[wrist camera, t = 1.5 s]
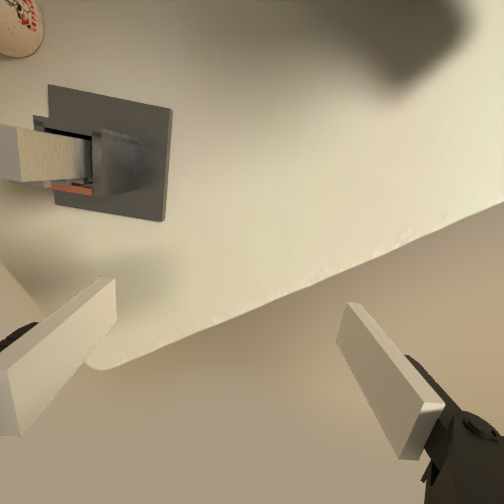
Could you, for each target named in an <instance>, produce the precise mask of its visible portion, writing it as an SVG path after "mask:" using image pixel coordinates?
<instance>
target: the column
mask: <svg viewBox="0 0 504 504" xmlns="http://www.w3.org/2000/svg"><path fill="white" fill-rule="evenodd" d="M0 178H2V179H8V180H10V182H12V183H18V184H24V185H30V186H35V187H41V188H50V187H51V183H53V184H58V185H64V186H69V185H72V182H74V183H80V184H88V181H91V182H93V165H92V141H91V140H85V139H80V138H74V137H68V136H63V135H57V134H52V133H46V132H41V131H35V130H29V129H24V128H18V127H13V126H7V125H1V124H0Z"/></svg>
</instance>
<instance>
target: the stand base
mask: <svg viewBox="0 0 504 504" xmlns="http://www.w3.org/2000/svg"><path fill="white" fill-rule="evenodd" d="M48 95H49V111H50V118H47V117H41V116H36V115H33V121H34V130H35V131H41V132H46V133H52V134H57V135H63V136H68V137H74V138H80V139H85V140H91V141H92V165H93V182H91V181H88V184H80V183H74V182H72V185H69V186H64V185H58V184H53V183H51V187H50V188H49V189H54V191H55V204H58V205H64V206H70V207H76V208H82V209H88V210H94V211H101V212H107V213H113V214H119V215H125V216H131V217H137V218H143V219H149V220H155V221H161V222H162V221H164V220H165V211H166V198H167V184H168V170H169V156H170V142H171V129H172V115H173V111H172V110H171V109H168V108H163V107H158V106H153V105H148V104H143V103H138V102H133V101H129V100H124V99H119V98H114V97H109V96H104V95H99V94H94V93H89V92H84V91H79V90H74V89H69V88H65V87H60V86H55V85H50V84H48Z"/></svg>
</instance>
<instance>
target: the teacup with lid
mask: <svg viewBox="0 0 504 504" xmlns="http://www.w3.org/2000/svg"><path fill="white" fill-rule="evenodd" d="M43 34H44V23H43V17H42V13H41V10H40V8H39V6H38V4H37V2H36V0H0V53H2V54H5V55H7V56H11V57H25V56H28V55H30V54H32V53H34V52H35V51H36V50H37V49H38V47H39V46H40V44H41V42H42V39H43Z"/></svg>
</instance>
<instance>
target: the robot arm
mask: <svg viewBox="0 0 504 504" xmlns="http://www.w3.org/2000/svg"><path fill="white" fill-rule="evenodd" d="M116 322H117V313H116V288H115V278H111V277H102V276H100V277H99V278H98V279H96V280H95V281H94V282H93V283H91V284H90V285H89V286H87V287H86V288H85V289H83V290H82V291H81V292H79V293H78V294H77V295H75V296H74V297H73V298H71V299H70V300H69V301H67V302H66V303H65V304H63V305H62V306H61V307H60V308H58V309H57V310H56V311H54V312H53V313H52V314H50V315H49V316H48V317H46V318H45V319H44V320H42V321H41V322H40V323H37V322H33V323H30V324H28V325H26V326H24V327H22V328H19V329H17V330H16V331H15V332H13V333H12V334H10V335H9V336H7V337H6V339H5V340H2V341H1V342H0V436H15V437H21V436H22V435H23V434H24V433H25V432H26V430H27V429H28V428H29V427H30V426H31V424H32V423H33V422H34V420H35V419H36V418H37V417H38V416H39V415H40V413H41V412H42V411H43V409H45V407H46V406H47V405H48V404H49V403H50V401H51V400H52V399H53V398H54V397H55V395H56V394H57V393H58V392H59V390H60V389H61V388H62V387H63V386H64V384H65V383H66V382H67V381H68V380H69V378H70V377H71V376H72V375H73V374H74V372H75V371H76V370H77V369H78V367H79V366H80V365H81V364H82V363H83V361H84V360H85V359H86V358H87V357H88V355H89V354H90V353H91V352H92V351H93V349H94V348H95V347H96V346H97V345H98V343H99V342H100V341H101V340H102V339H103V337H104V336H105V335H106V334H107V332H108V331H109V330H110V329H111V328H112V326H113V325H114V324H115V323H116ZM336 343H337V345H338V346H339V348H340V350H341V352H342V354H343V356H344V358H345V359H346V361H347V363H348V365H349V367H350V369H351V371H352V373H353V375H354V376H355V378H356V380H357V382H358V384H359V386H360V387H361V389H362V391H363V393H364V395H365V397H366V399H367V401H368V403H369V405H370V406H371V408H372V410H373V412H374V414H375V416H376V418H377V420H378V422H379V423H380V425H381V427H382V429H383V431H384V433H385V435H386V436H387V438H388V440H389V442H390V444H391V446H392V448H393V449H394V451H395V453H396V455H397V457H398V459H404V460H419V458H420V455H421V454H422V451H423V449H425V450H426V452H427V454H428V455H429V457H430V458H431V461H430V463H429V465H428V467H427V469H426V471H425V473H424V475H423V477H422V479H421V481H422V482H423V483H424V482H425V480H426V479H427V480H426V491H425V500H424V504H504V436H501V435H500V434H499V433H498V432H497V431H496V430H495V428H494V427H492V426H491V425H490V424H489V423H487V422H486V421H485V420H483V419H481V418H480V417H478V416H477V415H474V414H472V413H469V412H467V411H462V410H461V409H460V408H459V407H458V406H457V405H456V403H455V402H454V401H453V400H452V399H451V398H450V397H449V396H448V395H447V394H446V392H445V391H444V390H443V389H442V388H441V387H440V386H439V385H438V384H437V383H435V380H434V379H433V378H432V377H431V376H430V375H428V372H427V371H426V370H425V369H424V368H423V367H422V366H421V365H420V364H419V363H418V362H417V361H415V360H414V359H413V358H411V357H410V356H408V355H403V353H402V352H401V351H400V350H399V349H398V348H397V347H396V345H395V344H394V343H393V342H392V341H391V340H390V338H389V337H388V336H387V335H386V334H385V333H384V331H383V330H382V329H381V328H380V327H379V326H378V324H377V323H376V322H375V321H374V320H373V319H372V318H371V316H370V315H369V314H368V313H367V312H366V310H365V309H364V308H363V307H362V306H361V305H360V304H359V303H351V302H347V304H346V307H345V311H344V315H343V318H342V321H341V325H340V329H339V332H338V336H337V340H336Z"/></svg>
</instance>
